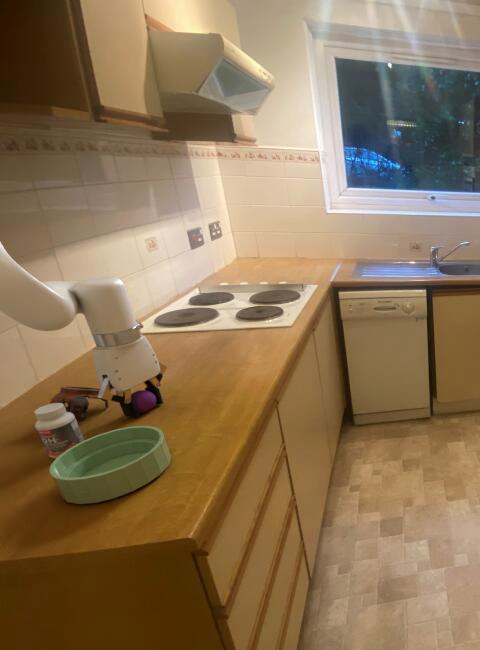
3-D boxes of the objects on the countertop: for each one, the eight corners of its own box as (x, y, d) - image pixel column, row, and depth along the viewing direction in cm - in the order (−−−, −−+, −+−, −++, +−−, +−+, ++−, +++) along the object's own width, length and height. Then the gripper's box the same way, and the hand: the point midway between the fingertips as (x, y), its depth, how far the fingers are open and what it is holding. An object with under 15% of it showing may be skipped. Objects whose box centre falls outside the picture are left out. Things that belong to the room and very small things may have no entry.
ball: (125, 415, 97) (117, 396, 95) (146, 404, 101) (139, 385, 99) (144, 417, 96) (136, 398, 94) (164, 406, 101) (158, 387, 99)
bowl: (37, 499, 73) (23, 473, 71) (126, 445, 87) (117, 421, 85) (112, 512, 71) (100, 485, 68) (191, 454, 84) (184, 430, 82)
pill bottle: (46, 463, 82) (25, 419, 78) (51, 448, 86) (31, 406, 82) (85, 452, 85) (66, 409, 81) (88, 439, 89) (70, 397, 85)
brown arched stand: (42, 422, 95) (51, 384, 96) (100, 423, 102) (108, 388, 103) (47, 429, 87) (57, 388, 88) (109, 430, 94) (118, 392, 95)
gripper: (141, 321, 100) (165, 390, 107) (58, 351, 84) (91, 429, 91) (169, 323, 99) (191, 393, 106) (89, 354, 83) (121, 433, 90)
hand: (144, 409), depth 98 cm, fingers closed on ball, 4 cm apart
